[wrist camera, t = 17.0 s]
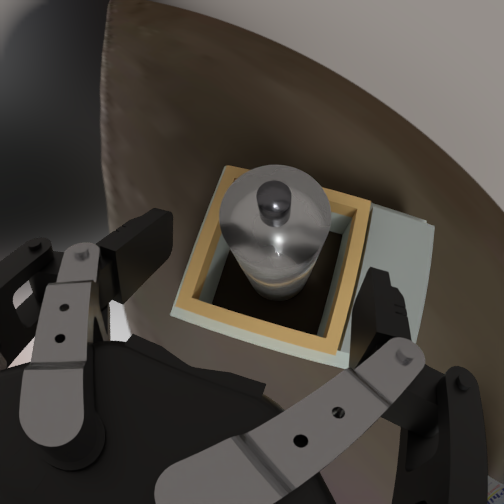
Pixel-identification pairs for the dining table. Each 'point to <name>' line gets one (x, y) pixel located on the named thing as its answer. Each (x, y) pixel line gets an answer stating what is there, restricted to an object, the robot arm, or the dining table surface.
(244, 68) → the dining table surface
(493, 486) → the medicine box
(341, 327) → the bottle holder tray
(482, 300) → the dining table surface
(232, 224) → the grey tall cylinder
